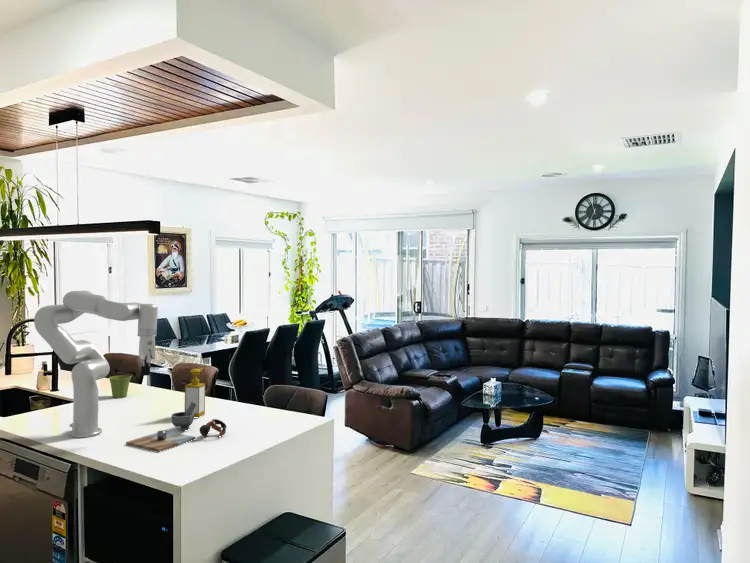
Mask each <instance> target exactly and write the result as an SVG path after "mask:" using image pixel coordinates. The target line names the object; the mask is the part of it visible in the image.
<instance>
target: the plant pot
mask: <svg viewBox="0 0 750 563" xmlns="http://www.w3.org/2000/svg"><path fill="white" fill-rule="evenodd" d="M131 378H132V376H131V375H113V376H110V377H109V376H108V379H109V383H110V388H111V394H112V398H114V399H115V398H116V399H123V398H125V397H127V396H128V391H129V386H130V382H131Z"/></svg>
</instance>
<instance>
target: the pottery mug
mask: <svg viewBox="0 0 750 563" xmlns="http://www.w3.org/2000/svg"><path fill="white" fill-rule="evenodd" d="M211 429H213V430H215V431H216V432H219V434H218V438H219V436H222V435H223V436H224V435H225V434H226V430H227V425H226V423H225V422H224V421H222V420H220V419H217V418H213V419H211V420H210V421H208V422H207V423H206V424H202V425H201V426H200V427H199V433H200V435H201V437H202V436H203V438H207V436H208V435H209V433H210V431H211ZM208 432H209V433H208ZM223 436H222V437H223Z"/></svg>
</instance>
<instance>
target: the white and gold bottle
mask: <svg viewBox="0 0 750 563" xmlns="http://www.w3.org/2000/svg"><path fill="white" fill-rule="evenodd" d="M202 370H203V368H193V369H191V370H189V373H191V375H192V376H193V379H191V382H190V383H188V384H186V385H185V386H184V412H186V411H187V410H188V408H189V406H190V405H191V402H195V403H196V404H197V405H196V406H195V408H194V410H193V412H192V413H194V417H198V418H197V419H200V418H201V417H200V416H202V415H203V416H205V415H204V414H206V383H201V382H200V379H199V378H198V376H199V375H200V372H202ZM203 416H202V417H203ZM199 417H200V418H199Z"/></svg>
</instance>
